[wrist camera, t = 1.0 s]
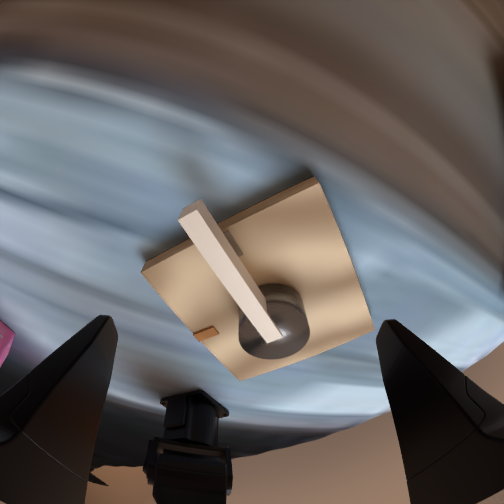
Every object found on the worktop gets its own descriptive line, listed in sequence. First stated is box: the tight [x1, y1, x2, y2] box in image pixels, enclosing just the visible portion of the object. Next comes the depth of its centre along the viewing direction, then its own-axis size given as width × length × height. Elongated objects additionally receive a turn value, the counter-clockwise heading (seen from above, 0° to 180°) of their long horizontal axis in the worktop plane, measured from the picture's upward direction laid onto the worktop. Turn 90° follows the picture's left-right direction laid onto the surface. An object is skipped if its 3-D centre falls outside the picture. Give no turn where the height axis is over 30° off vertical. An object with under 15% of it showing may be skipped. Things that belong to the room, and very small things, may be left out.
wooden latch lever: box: [178, 199, 310, 360], centre depth 19 cm, size 13×5×3 cm, turn 28°
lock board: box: [141, 177, 375, 381], centre depth 23 cm, size 15×14×2 cm
